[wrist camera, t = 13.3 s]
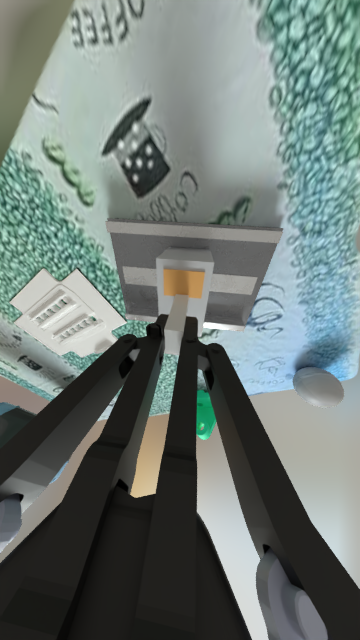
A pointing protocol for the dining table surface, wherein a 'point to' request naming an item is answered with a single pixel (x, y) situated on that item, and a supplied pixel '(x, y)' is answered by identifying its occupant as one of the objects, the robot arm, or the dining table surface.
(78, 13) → the dining table surface
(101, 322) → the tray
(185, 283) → the module
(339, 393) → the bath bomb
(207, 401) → the camera mount
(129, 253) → the rail
